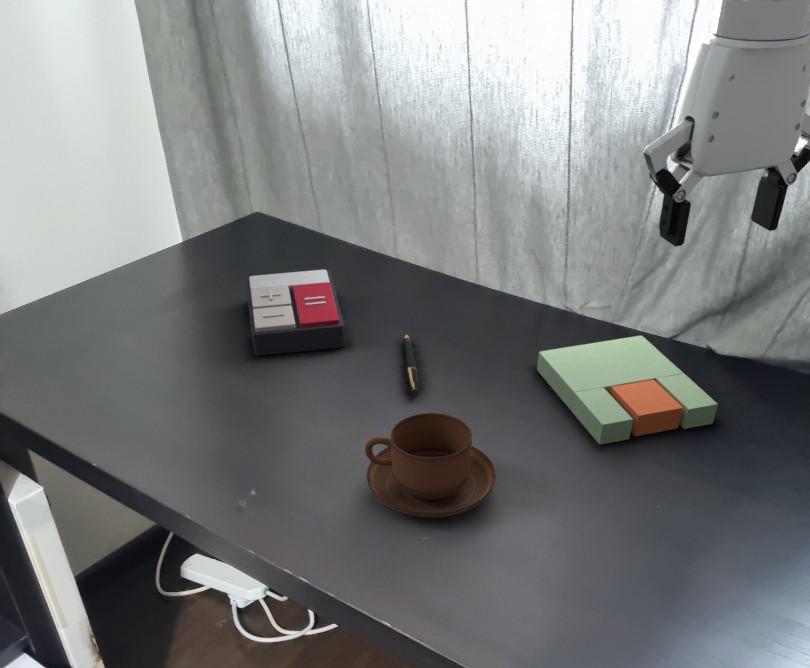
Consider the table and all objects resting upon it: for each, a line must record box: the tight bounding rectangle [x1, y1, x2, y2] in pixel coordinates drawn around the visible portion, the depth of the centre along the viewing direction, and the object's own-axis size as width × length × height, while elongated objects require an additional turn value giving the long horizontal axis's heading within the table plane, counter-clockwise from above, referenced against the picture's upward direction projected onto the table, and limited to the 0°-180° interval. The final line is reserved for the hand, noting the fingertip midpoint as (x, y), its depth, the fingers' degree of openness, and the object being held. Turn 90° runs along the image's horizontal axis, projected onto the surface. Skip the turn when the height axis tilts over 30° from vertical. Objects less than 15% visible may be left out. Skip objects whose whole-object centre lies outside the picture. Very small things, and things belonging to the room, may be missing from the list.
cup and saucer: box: [364, 412, 496, 519], centre depth 76 cm, size 12×12×6 cm
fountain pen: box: [403, 333, 420, 396], centre depth 96 cm, size 14×1×2 cm, turn 4°
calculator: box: [245, 269, 346, 357], centre depth 104 cm, size 11×4×15 cm
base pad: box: [536, 334, 719, 445], centre depth 90 cm, size 13×16×2 cm
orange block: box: [610, 380, 683, 437], centre depth 86 cm, size 5×6×2 cm
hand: (717, 233), depth 77 cm, fingers open, 9 cm apart
